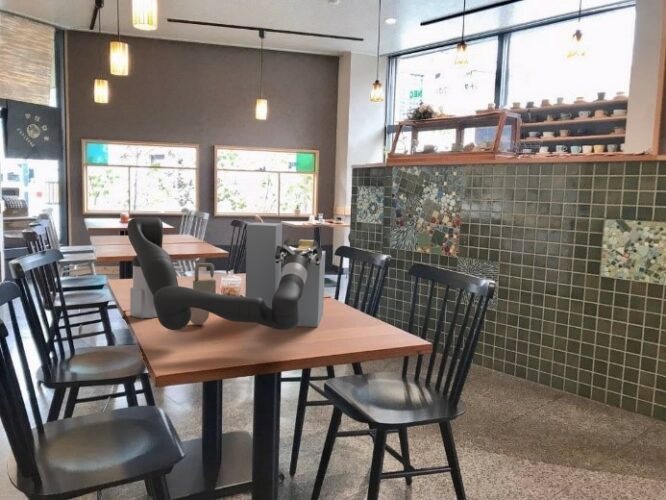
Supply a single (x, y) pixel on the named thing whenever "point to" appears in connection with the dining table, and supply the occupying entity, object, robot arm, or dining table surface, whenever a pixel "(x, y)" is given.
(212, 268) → the padlock
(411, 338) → the dining table surface
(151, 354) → the dining table surface
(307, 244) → the brass stop bar
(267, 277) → the slate post and ledge
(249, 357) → the dining table surface
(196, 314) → the egg
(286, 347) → the dining table surface
